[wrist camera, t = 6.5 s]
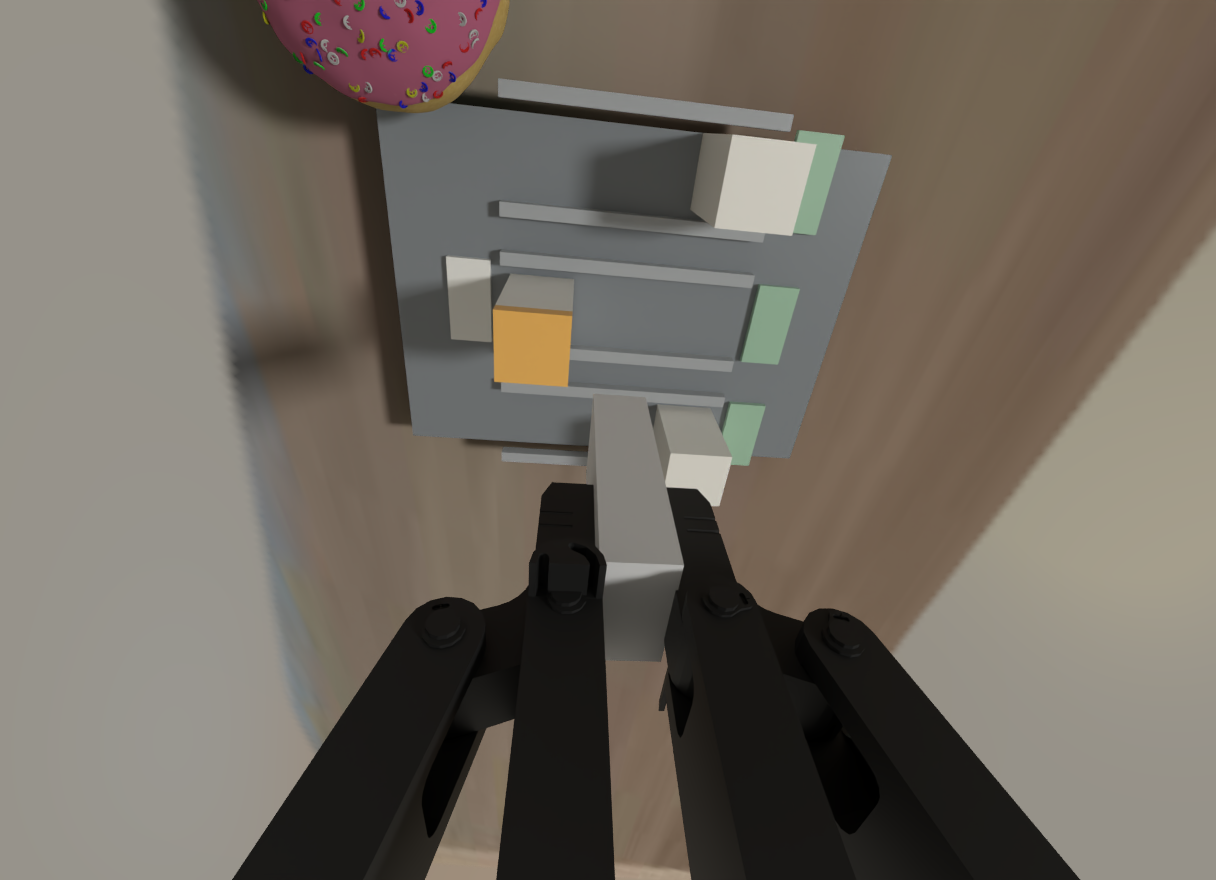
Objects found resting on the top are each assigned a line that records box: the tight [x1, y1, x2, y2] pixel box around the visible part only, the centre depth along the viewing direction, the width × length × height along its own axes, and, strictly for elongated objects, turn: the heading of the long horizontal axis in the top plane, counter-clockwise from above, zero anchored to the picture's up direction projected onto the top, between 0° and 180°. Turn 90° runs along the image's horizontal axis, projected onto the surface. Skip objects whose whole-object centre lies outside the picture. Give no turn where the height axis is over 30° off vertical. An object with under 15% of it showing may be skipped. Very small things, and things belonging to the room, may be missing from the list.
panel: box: [376, 78, 892, 506], centre depth 24 cm, size 18×22×7 cm
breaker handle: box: [493, 274, 574, 387], centre depth 23 cm, size 3×3×6 cm
